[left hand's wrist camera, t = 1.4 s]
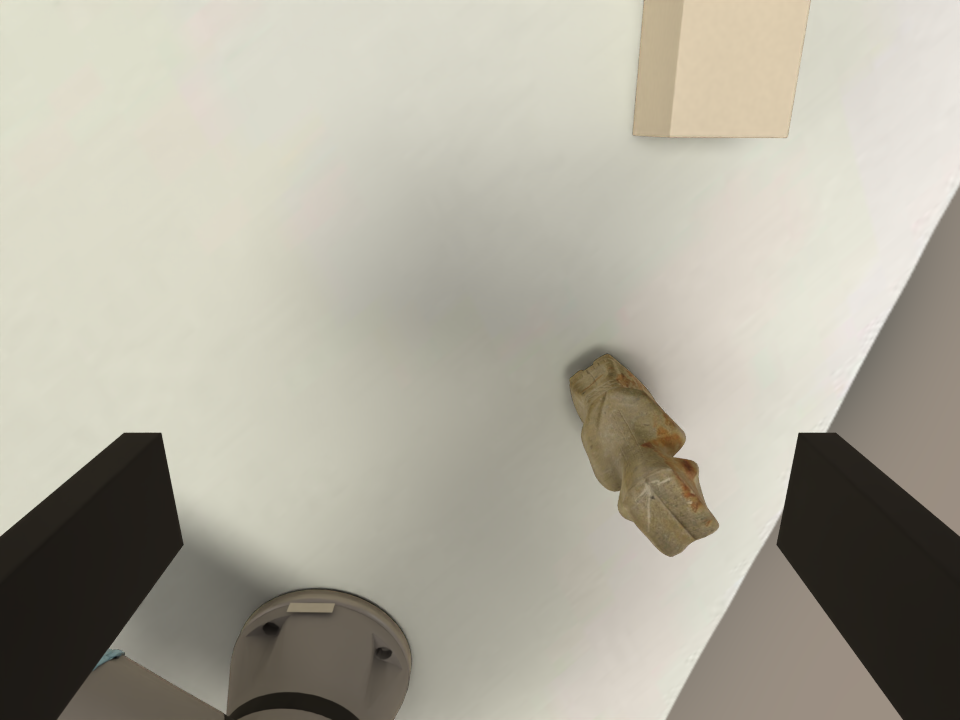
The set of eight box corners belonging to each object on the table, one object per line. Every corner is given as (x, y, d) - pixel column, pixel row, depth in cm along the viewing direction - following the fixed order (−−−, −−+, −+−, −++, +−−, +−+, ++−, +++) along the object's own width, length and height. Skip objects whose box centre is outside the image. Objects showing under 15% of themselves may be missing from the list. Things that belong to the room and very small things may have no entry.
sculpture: (599, 447, 47) (648, 584, 33) (548, 374, 45) (577, 487, 31) (667, 407, 46) (748, 532, 32) (618, 331, 44) (682, 428, 30)
